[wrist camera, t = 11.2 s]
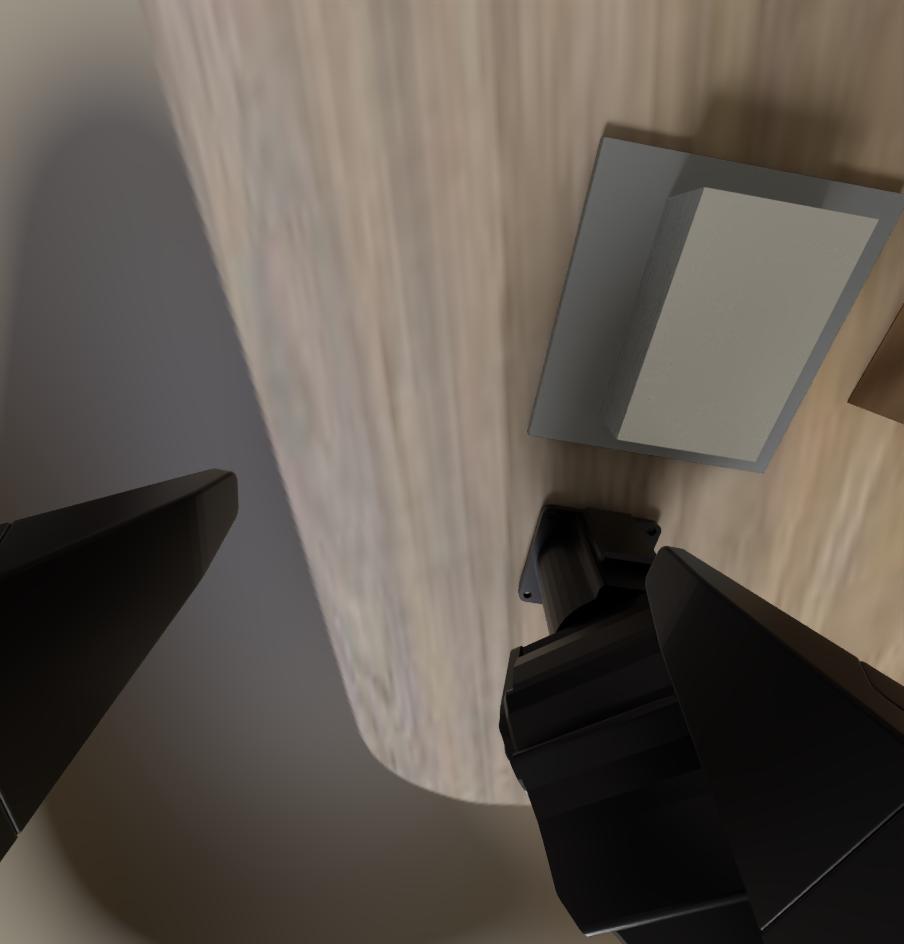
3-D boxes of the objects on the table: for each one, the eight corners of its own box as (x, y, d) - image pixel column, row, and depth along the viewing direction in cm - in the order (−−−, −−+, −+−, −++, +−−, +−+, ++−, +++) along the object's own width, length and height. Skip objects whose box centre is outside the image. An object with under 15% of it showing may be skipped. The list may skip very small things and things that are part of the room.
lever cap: (719, 435, 21) (755, 461, 19) (597, 416, 21) (616, 439, 18) (815, 225, 17) (879, 219, 15) (667, 197, 17) (704, 186, 14)
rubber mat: (757, 469, 23) (763, 473, 22) (527, 431, 22) (528, 435, 22) (898, 197, 17) (910, 195, 17) (600, 140, 17) (604, 136, 16)
